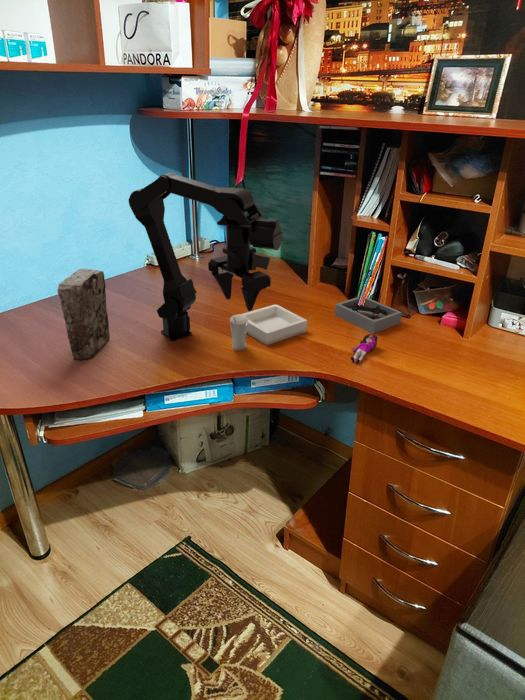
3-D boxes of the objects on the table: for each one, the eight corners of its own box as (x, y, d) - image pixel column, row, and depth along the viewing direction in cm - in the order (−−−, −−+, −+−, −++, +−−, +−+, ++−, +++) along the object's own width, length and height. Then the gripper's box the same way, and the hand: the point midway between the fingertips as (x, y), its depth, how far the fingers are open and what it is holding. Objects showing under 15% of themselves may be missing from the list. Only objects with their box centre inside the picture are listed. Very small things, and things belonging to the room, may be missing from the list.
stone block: (88, 336, 144) (77, 266, 135) (113, 338, 144) (104, 267, 134) (68, 360, 132) (54, 285, 123) (96, 362, 132) (84, 286, 123)
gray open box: (373, 333, 148) (374, 322, 146) (334, 315, 158) (335, 304, 157) (400, 323, 154) (402, 312, 152) (361, 306, 164) (362, 295, 163)
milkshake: (226, 351, 138) (225, 316, 133) (234, 342, 142) (233, 308, 137) (242, 354, 136) (242, 318, 131) (250, 345, 141) (250, 310, 136)
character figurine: (364, 370, 132) (381, 345, 141) (365, 353, 129) (382, 329, 138) (343, 364, 135) (360, 341, 143) (343, 348, 132) (361, 325, 140)
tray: (266, 345, 141) (266, 333, 139) (236, 326, 151) (236, 315, 149) (306, 331, 148) (307, 320, 147) (275, 314, 158) (275, 304, 156)
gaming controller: (348, 321, 159) (346, 312, 152) (351, 307, 160) (349, 298, 154) (384, 326, 156) (383, 317, 149) (387, 312, 157) (386, 303, 150)
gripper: (289, 248, 125) (287, 309, 132) (242, 230, 138) (242, 287, 145) (251, 256, 119) (251, 320, 126) (205, 237, 131) (208, 296, 139)
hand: (238, 304), depth 134 cm, fingers open, 9 cm apart
